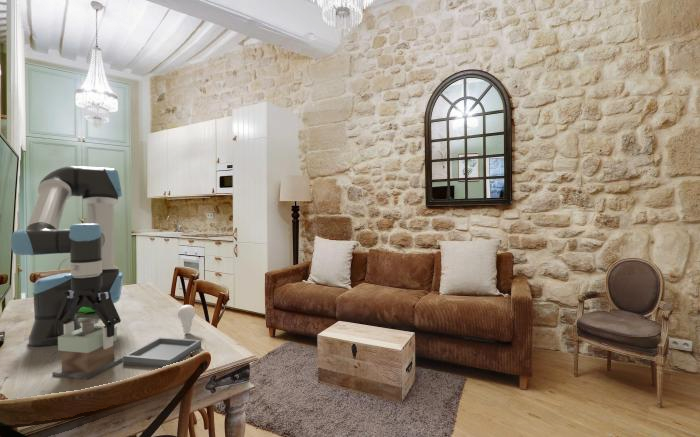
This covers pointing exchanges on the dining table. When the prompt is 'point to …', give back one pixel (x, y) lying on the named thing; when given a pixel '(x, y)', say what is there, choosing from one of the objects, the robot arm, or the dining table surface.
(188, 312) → the lightbulb
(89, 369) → the stake block
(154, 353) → the tray
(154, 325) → the dining table surface
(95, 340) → the collar
